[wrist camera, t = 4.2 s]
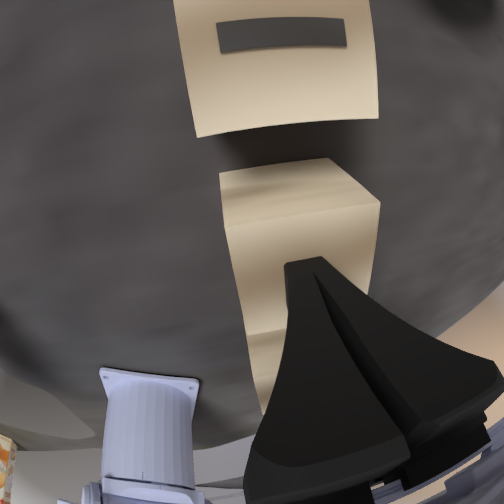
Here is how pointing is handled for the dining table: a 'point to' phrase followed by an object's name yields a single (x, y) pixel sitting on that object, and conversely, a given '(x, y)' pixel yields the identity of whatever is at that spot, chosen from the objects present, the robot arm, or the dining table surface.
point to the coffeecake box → (6, 467)
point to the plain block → (294, 230)
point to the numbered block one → (277, 62)
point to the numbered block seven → (265, 361)
